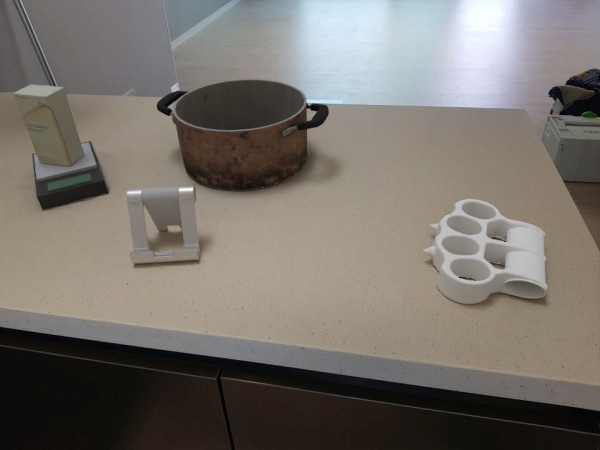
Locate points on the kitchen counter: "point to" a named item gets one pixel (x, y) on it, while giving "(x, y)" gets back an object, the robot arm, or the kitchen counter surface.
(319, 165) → the kitchen counter surface
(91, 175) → the scale
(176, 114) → the cooking pot
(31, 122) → the cosmetic box
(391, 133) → the kitchen counter surface
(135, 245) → the tablet stand
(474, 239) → the white brass knuckles
